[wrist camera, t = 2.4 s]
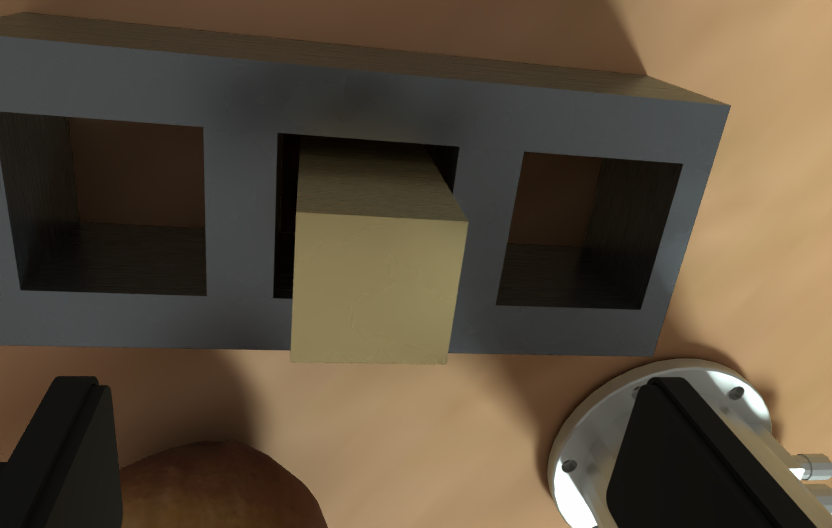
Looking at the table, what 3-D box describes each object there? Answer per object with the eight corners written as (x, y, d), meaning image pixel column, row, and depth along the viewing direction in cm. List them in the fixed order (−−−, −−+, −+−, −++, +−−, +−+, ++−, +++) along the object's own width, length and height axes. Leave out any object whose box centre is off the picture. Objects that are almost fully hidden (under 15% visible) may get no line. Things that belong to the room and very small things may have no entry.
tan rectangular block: (410, 123, 27) (468, 221, 17) (399, 222, 28) (445, 364, 19) (301, 114, 26) (296, 212, 16) (297, 217, 28) (290, 362, 18)
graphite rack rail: (648, 76, 27) (730, 105, 22) (594, 287, 31) (652, 356, 26) (23, 12, 23) (-64, 29, 18) (56, 267, 27) (-7, 345, 22)
